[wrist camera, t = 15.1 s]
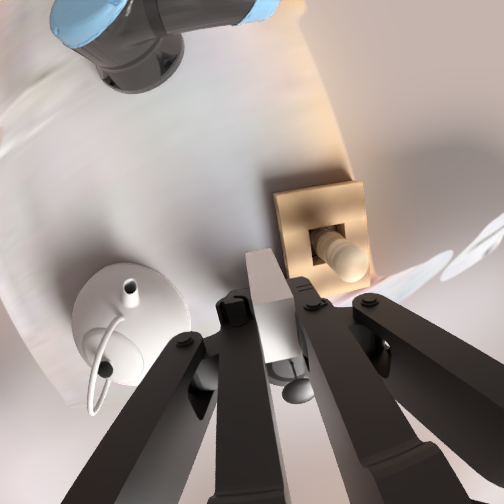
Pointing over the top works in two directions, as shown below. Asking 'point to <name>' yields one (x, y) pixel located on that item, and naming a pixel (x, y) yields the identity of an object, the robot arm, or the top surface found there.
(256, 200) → the top surface
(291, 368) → the french press
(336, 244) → the peg
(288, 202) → the board
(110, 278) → the kettle
